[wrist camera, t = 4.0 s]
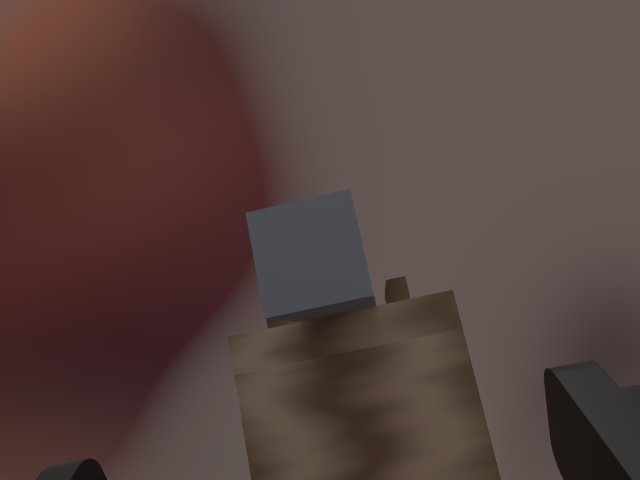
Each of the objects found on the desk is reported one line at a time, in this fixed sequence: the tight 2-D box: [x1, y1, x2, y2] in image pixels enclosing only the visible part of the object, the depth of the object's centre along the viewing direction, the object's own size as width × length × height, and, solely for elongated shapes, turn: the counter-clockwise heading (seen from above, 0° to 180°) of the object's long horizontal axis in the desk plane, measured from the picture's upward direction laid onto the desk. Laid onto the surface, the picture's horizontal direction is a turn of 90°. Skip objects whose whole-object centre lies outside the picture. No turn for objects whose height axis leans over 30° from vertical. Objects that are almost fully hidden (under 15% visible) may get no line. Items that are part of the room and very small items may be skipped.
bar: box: [246, 189, 376, 322], centre depth 29 cm, size 4×22×4 cm, turn 173°
